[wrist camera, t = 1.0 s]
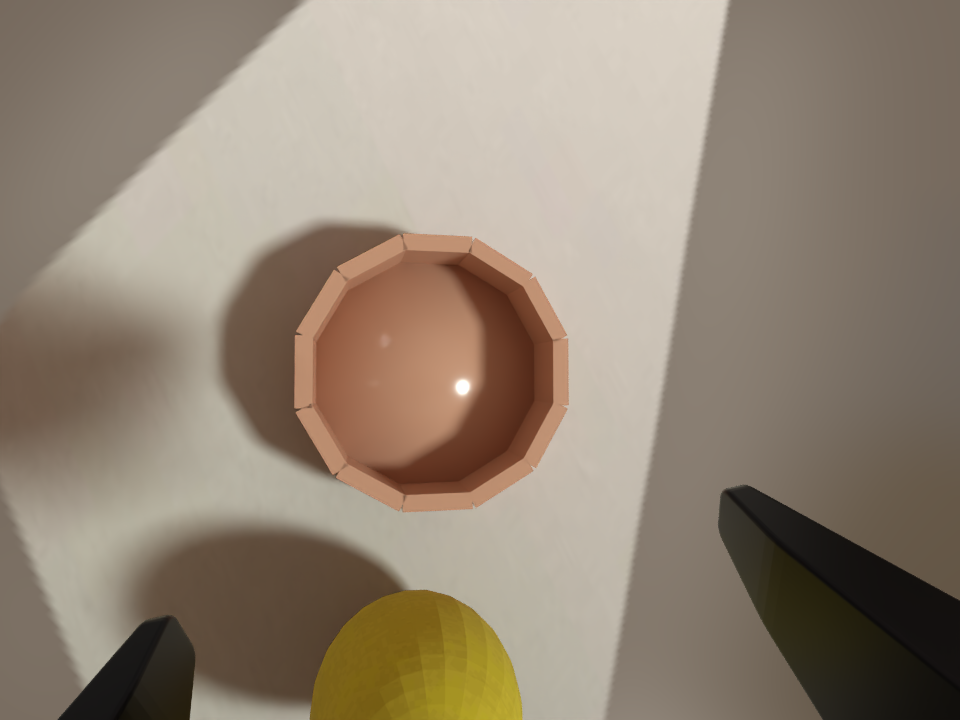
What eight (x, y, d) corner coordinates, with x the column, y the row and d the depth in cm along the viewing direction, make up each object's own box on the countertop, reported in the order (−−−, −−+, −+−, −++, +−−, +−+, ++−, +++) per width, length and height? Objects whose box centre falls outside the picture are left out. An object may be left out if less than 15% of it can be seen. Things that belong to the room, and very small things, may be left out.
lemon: (281, 642, 19) (236, 819, 12) (413, 523, 20) (455, 613, 13) (392, 762, 20) (421, 1007, 12) (515, 640, 21) (615, 795, 13)
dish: (544, 490, 21) (569, 504, 19) (300, 500, 20) (293, 517, 17) (542, 256, 22) (567, 241, 19) (302, 246, 20) (295, 228, 17)
